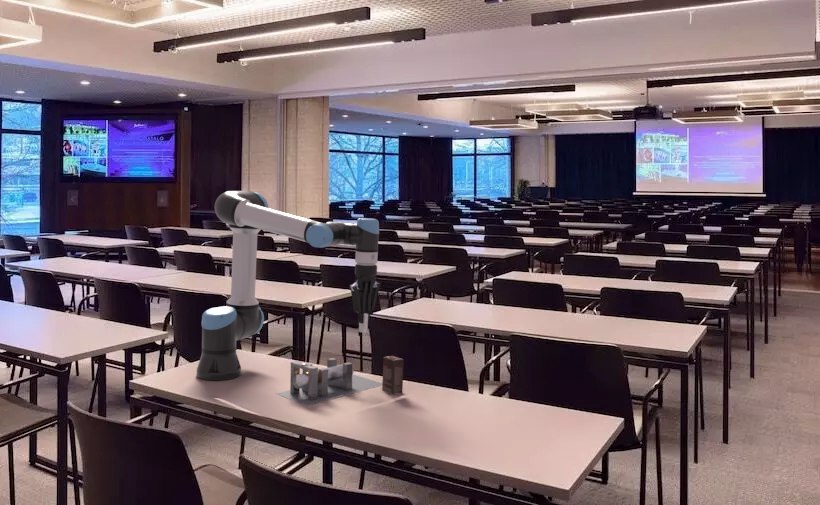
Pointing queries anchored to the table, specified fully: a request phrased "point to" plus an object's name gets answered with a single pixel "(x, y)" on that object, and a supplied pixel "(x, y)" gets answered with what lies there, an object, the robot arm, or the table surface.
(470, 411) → the table surface
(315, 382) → the frame
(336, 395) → the board
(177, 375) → the table surface
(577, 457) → the table surface
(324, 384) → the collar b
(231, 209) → the robot arm
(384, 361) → the box
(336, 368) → the tube
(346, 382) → the grey tube support frame
